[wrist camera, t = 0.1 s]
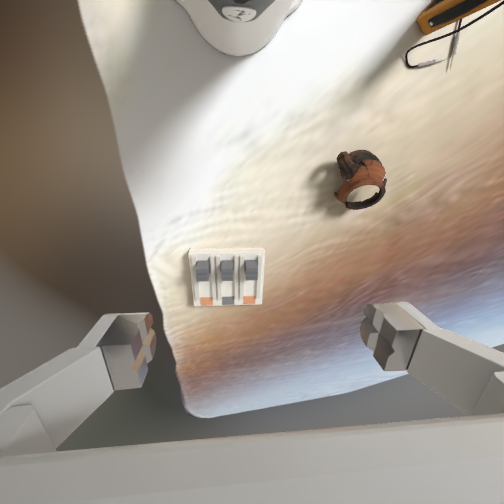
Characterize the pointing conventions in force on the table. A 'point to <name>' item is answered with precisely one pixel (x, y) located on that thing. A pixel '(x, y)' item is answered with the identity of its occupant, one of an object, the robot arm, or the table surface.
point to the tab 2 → (251, 270)
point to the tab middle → (227, 270)
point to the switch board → (227, 291)
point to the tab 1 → (202, 271)
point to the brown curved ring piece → (360, 177)
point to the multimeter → (449, 19)
